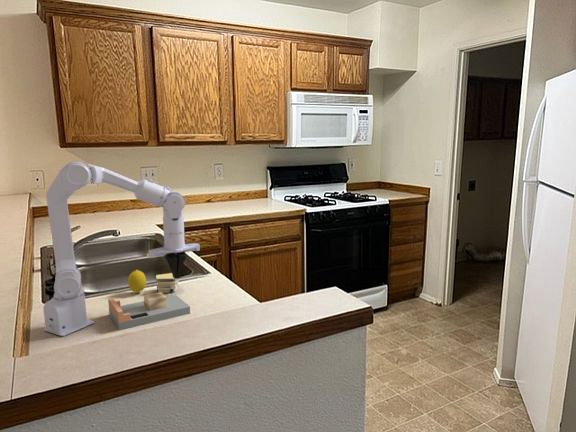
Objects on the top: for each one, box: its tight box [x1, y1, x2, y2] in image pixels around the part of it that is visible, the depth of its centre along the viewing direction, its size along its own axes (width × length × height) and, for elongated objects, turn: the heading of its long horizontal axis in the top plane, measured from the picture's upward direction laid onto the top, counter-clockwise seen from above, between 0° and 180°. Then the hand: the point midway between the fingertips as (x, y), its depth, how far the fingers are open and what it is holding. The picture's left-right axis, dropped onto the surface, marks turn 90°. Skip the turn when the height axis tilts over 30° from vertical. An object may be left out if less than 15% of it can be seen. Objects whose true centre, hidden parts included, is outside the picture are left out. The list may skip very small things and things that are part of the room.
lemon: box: [127, 269, 147, 294], centre depth 137 cm, size 6×6×8 cm
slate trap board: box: [108, 294, 191, 331], centre depth 121 cm, size 20×12×2 cm, turn 124°
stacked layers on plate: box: [155, 272, 180, 294], centre depth 139 cm, size 10×9×6 cm
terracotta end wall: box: [107, 297, 131, 323], centre depth 116 cm, size 3×12×3 cm, turn 34°
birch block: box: [143, 292, 167, 311], centre depth 121 cm, size 5×5×3 cm
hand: (176, 277), depth 124 cm, fingers closed
